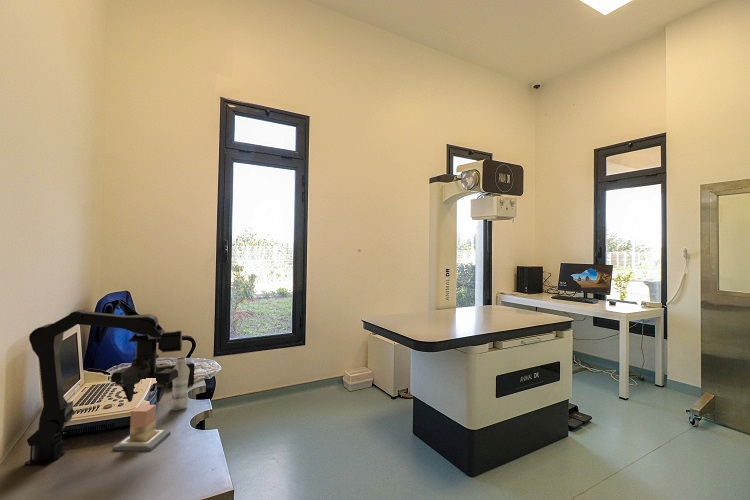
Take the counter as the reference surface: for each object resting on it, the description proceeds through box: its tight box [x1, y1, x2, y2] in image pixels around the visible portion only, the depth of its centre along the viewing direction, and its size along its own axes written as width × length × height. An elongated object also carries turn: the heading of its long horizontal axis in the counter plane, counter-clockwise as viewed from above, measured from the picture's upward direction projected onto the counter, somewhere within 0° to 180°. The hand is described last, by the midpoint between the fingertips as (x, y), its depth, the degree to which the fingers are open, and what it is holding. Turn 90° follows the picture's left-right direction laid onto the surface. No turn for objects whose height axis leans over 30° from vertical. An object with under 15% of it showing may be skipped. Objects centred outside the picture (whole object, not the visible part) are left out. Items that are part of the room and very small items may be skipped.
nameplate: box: [156, 362, 196, 389], centre depth 159 cm, size 21×2×10 cm, turn 121°
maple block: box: [129, 420, 157, 442], centre depth 112 cm, size 5×5×5 cm
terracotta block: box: [129, 404, 157, 427], centre depth 112 cm, size 5×5×5 cm
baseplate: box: [112, 429, 171, 452], centre depth 111 cm, size 12×10×2 cm
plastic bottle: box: [169, 356, 190, 411], centre depth 137 cm, size 6×7×20 cm
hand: (144, 401), depth 112 cm, fingers open, 9 cm apart
